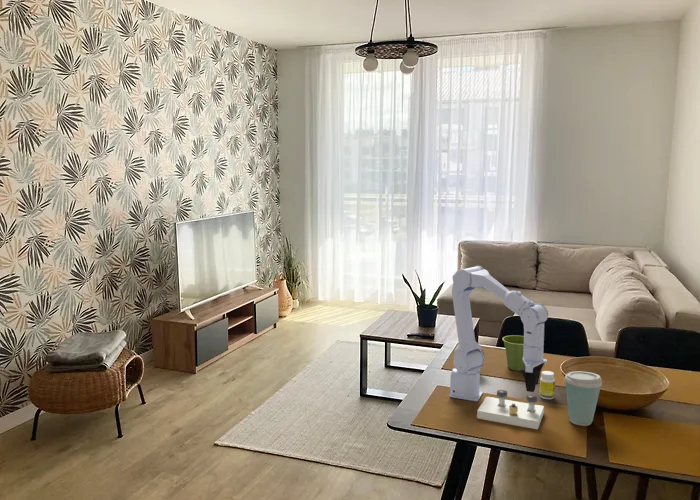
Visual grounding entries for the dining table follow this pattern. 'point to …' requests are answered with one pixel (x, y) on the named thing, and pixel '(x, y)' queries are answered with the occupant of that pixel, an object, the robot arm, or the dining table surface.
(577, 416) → the disposable coffee cup
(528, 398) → the knob
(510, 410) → the gold domed cylinder
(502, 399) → the knob
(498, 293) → the robot arm
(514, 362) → the plant pot
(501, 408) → the mount block
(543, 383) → the supplement bottle
